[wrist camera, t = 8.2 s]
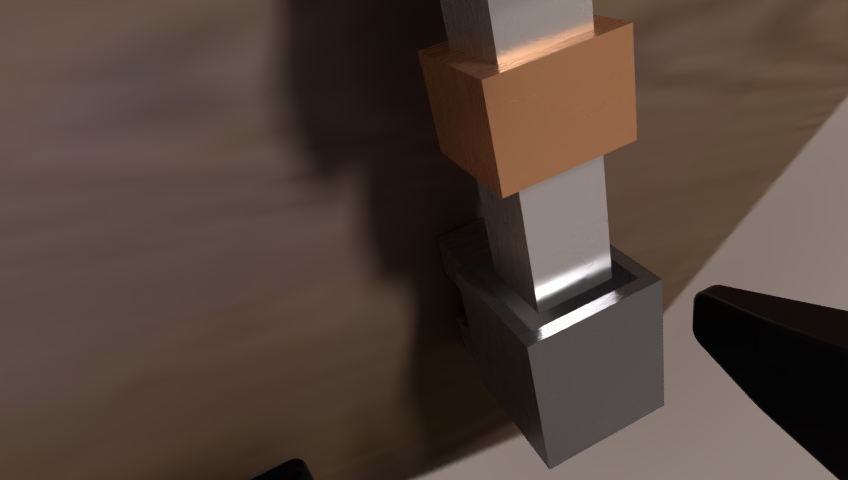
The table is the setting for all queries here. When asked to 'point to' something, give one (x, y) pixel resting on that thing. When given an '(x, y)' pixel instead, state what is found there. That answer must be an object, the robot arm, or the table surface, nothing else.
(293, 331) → the table surface
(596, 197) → the grey and copper post
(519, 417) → the metal sleeve
